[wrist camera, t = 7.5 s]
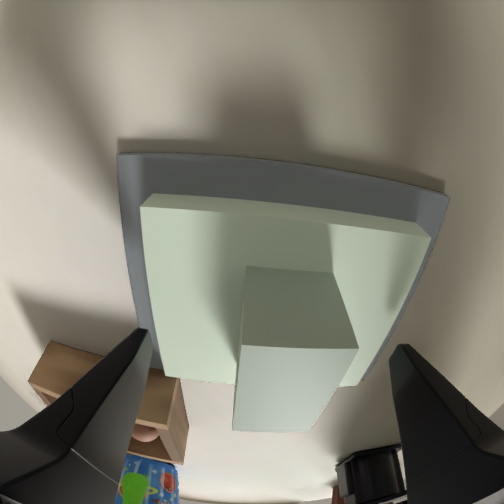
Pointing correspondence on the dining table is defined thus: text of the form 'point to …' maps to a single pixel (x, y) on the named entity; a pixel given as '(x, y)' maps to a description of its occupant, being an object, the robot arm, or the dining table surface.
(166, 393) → the crate
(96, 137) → the dining table surface
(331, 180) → the mat
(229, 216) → the lid
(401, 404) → the robot arm
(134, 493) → the snack cup
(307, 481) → the dining table surface
